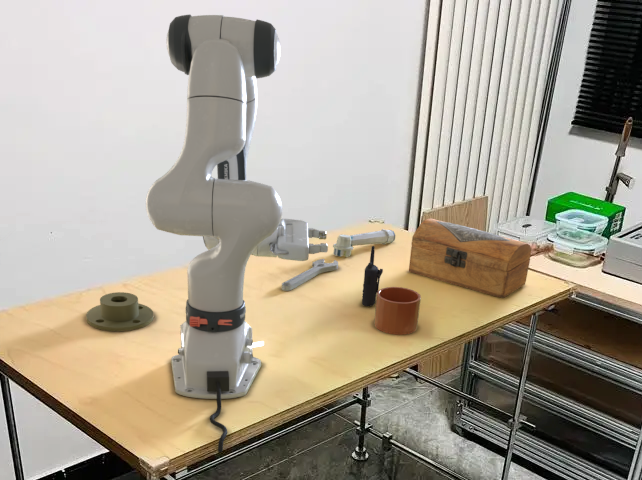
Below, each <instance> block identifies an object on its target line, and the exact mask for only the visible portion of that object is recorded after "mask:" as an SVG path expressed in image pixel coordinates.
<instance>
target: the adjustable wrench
mask: <svg viewBox="0 0 642 480" xmlns="http://www.w3.org/2000/svg"><path fill="white" fill-rule="evenodd" d="M338 269H339V262H338V260H336V259H334V260H333V262H325V258H319V259H317V260H315V261H312V263H311V268H308V269H306V270H305V271H303V272H301V273H299V274H297V275H295V276H293V277H291V278H290V279H288V280H286V281H284V282H282V283H281V290H282V291H285V292H290V291H293V290H294V289H296V288H297V287H299V286H301V285H303V284H304V283H306V282H307V281H310V280H311V279H313V278H314V277H316V276H318V275H320V274H323V273H327V272H331V271H336V270H338Z"/></svg>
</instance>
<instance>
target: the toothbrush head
mask: <svg viewBox="0 0 642 480" xmlns="http://www.w3.org/2000/svg"><path fill="white" fill-rule="evenodd" d="M396 237H397V235H396V233H395V231H394V230H392V229H385V228H382V229H380V230H375V231H370V232H364V233H358V234H350V235H349V234H343V233H342V234H339V235H338V236H337V239H336V242H335V243H333V245H332V248H333V253H332V254H333V255H334V256H336V257H341V258H342V257H345V258H349V257H351V255H352V251H353V250H354V247H355V246H368V245H379V244H382V245H386V244H391V243H394V241H395V240H396Z"/></svg>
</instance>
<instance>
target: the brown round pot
mask: <svg viewBox="0 0 642 480" xmlns="http://www.w3.org/2000/svg"><path fill="white" fill-rule="evenodd" d="M421 301H422V297H421V294H420V293H419V292H417V291H416V290H413V289H411V288H408V287H402V286H390V287H389V286H387V287H386V286H385V287H383V288H382V287H381V289H380V288H379V289H378V292H377V293H376V302H375V309H374V320H373V321H374V322H373V323H374V327H375V328H376V329H377V330H379V331H381V332H383V333H386V334H390V335H396V336H399V335H400V336H402V335H404V336H405V335H409V334H412V333H415V332H416V331H417V330H418V325H419V317H420V308H421Z"/></svg>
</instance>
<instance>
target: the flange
mask: <svg viewBox="0 0 642 480" xmlns="http://www.w3.org/2000/svg"><path fill="white" fill-rule="evenodd" d="M85 315H86V323H87V324H88V325H89V326H91V327H92V328H95V329H97V330H102V331H107V332H128V331H129V332H130V331H135V330H139V329H141V328H145V327H146V326H149V325H150V324H151V323H152V322H153V320H154V311H153V309H151V307H149V306H148V305H145V304H142V303H139V297H138V296H137V295H136V294H134V293H131V292H123V291H122V292H121V291H119V292H118V291H117V292H110V293H106V294H104V295H102V296H101V297H100V298H99V304H98V305H96V306H94V307H92V308H90V309H89V310H88V311H87V313H86V314H85Z"/></svg>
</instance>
